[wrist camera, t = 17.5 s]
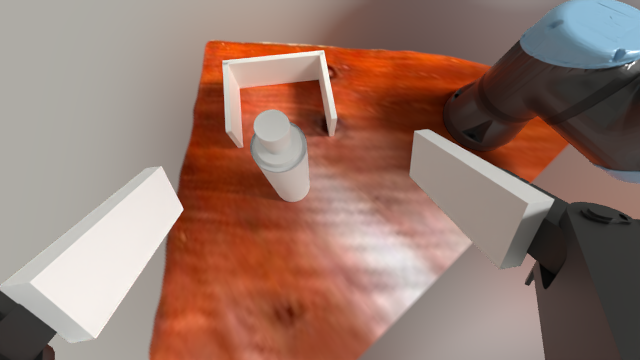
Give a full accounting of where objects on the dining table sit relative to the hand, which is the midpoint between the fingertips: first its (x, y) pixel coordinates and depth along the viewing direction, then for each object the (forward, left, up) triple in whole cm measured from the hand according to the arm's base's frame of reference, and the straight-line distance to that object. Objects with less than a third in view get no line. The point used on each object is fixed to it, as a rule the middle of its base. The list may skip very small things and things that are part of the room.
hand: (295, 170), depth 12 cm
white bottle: (+2, -8, -32) cm, 33 cm away
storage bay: (+2, -25, -32) cm, 40 cm away
